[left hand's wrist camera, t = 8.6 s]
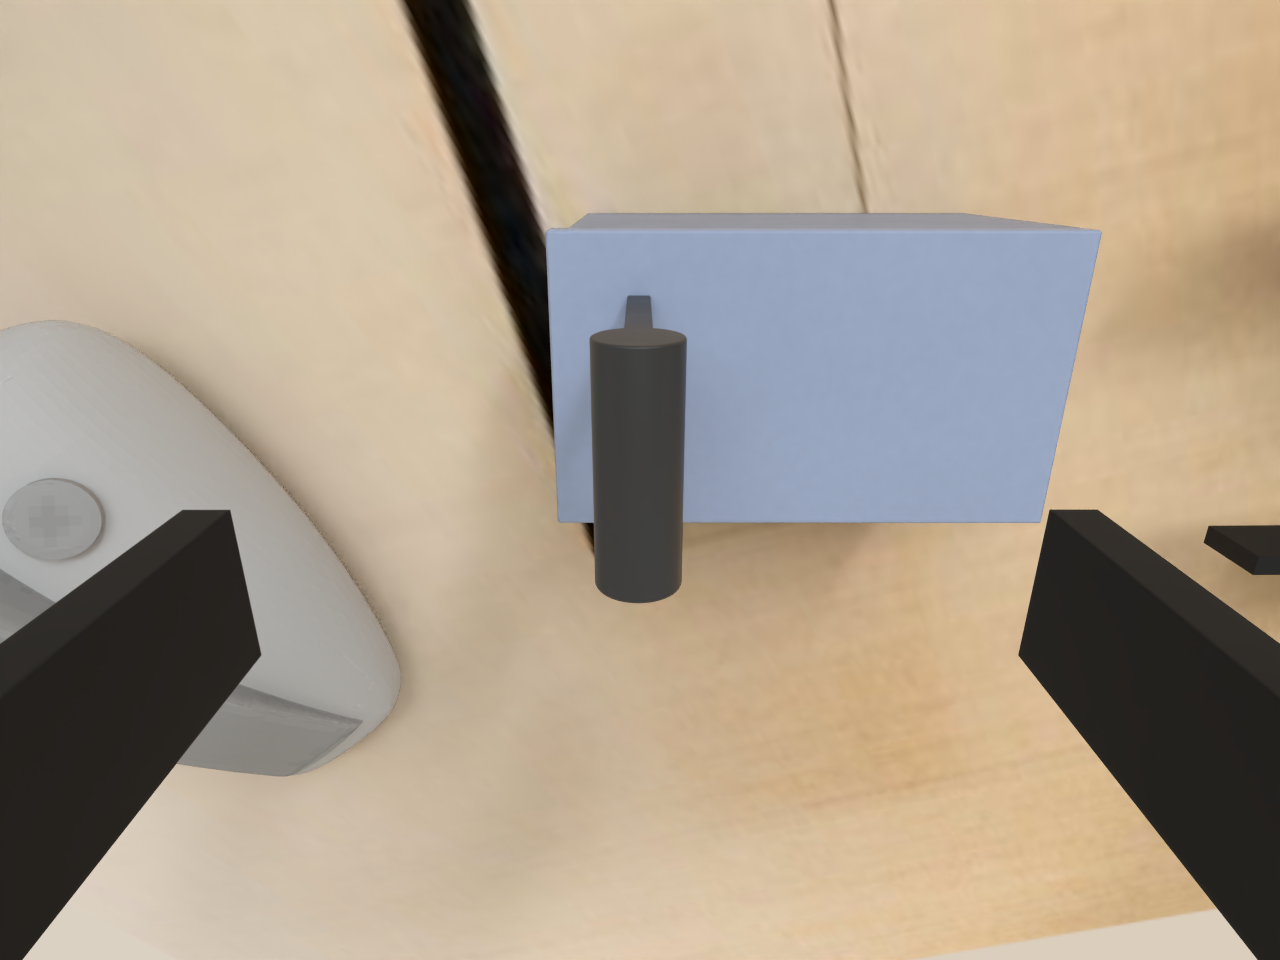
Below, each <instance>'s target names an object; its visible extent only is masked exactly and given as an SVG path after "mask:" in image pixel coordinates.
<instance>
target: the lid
mask: <svg viewBox="0 0 1280 960" xmlns="http://www.w3.org/2000/svg"><path fill="white" fill-rule="evenodd" d="M1100 238H1101V231H1099V230H1093V229H1085V228H551V229H549V230H547V231H546V254H547V277H548V301H549V324H550V347H551V370H552V393H553V417H554V440H555V463H556V486H557V509H558V521H559V522H562V523H594V548H595V583H596V586H597V588H598V589H599V590H600V592H602V593H603V594H604V595H606V596H607V597H610V598H612V599H615V600H618V601H622V602H629V603H648V602H654V601H659V600H662V599H665V598H667V597H669V596H671V595H673V594H674V593H675V592H676V591H677V590H678V589H679V587H680V585H681V580H682V537H683V523H1039V522H1040V521H1041V517H1042V512H1043V507H1044V503H1045V498H1046V493H1047V489H1048V484H1049V479H1050V474H1051V470H1052V465H1053V460H1054V456H1055V451H1056V446H1057V441H1058V437H1059V432H1060V427H1061V423H1062V418H1063V413H1064V408H1065V404H1066V399H1067V394H1068V389H1069V385H1070V380H1071V375H1072V371H1073V366H1074V361H1075V356H1076V352H1077V347H1078V342H1079V338H1080V333H1081V328H1082V323H1083V319H1084V314H1085V309H1086V305H1087V300H1088V295H1089V290H1090V286H1091V281H1092V276H1093V272H1094V267H1095V262H1096V257H1097V253H1098V248H1099V243H1100Z"/></svg>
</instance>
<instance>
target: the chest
mask: <svg viewBox="0 0 1280 960" xmlns="http://www.w3.org/2000/svg"><path fill="white" fill-rule="evenodd" d="M570 228H1078V227H1069V226H1061V225H1053V224H1045V223H1037V222H1029V221H1021V220H1013V219H1005V218H997V217H989V216H980V215H972V214H965V213H588V214H587V215H586V216H584V217H583V218H582V219H580V220H579V221H578V222H576V223H575V224H574V225H572V226H571V227H570Z"/></svg>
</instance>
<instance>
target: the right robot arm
mask: <svg viewBox="0 0 1280 960" xmlns="http://www.w3.org/2000/svg"><path fill="white" fill-rule="evenodd" d="M1204 543H1205V544H1207V545H1208V546H1210V547H1211V548H1213V549H1214V550H1216V551H1217V552H1219V553H1220V554H1222V555H1223V556H1225V557H1226V558H1228V559H1230V560H1231V561H1233V562H1234V563H1236V564H1237V565H1239V566H1240V567H1242V568H1243V569H1245V570H1246V571H1248V572H1249V573H1251V574H1252V575H1280V525H1274V526H1209V527H1208V530H1207V533H1206V537H1205V540H1204Z"/></svg>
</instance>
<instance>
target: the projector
mask: <svg viewBox="0 0 1280 960" xmlns="http://www.w3.org/2000/svg"><path fill="white" fill-rule="evenodd" d="M181 510H230V511H231V515H232V520H233V525H234V529H235V534H236V539H237V543H238V548H239V553H240V557H241V562H242V566H243V571H244V576H245V580H246V585H247V590H248V594H249V599H250V604H251V608H252V613H253V618H254V622H255V627H256V632H257V636H258V641H259V645H260V650H261V657H260V658H259V659H258V660H257V662H256V663H255V664H254V666H253V667H252V668H251V669H250V671H249V672H248V673H247V674H246V676H245V677H244V678H243V680H242V681H241V682H240V683H239V685H238V686H237V687H236V688H235V690H234V691H233V692H232V694H231V695H230V696H229V697H228V699H227V700H226V701H225V702H224V704H223V705H222V706H221V708H220V709H219V710H218V711H217V713H216V714H215V715H214V716H213V718H212V719H211V720H210V722H209V723H208V724H207V725H206V727H205V728H204V729H203V730H202V732H201V733H200V734H199V736H198V737H197V738H196V739H195V741H194V742H193V743H192V744H191V746H190V747H189V748H188V750H187V751H186V752H185V753H184V755H183V756H182V757H181V758H180V760H179V761H178V762H177V764H182V765H188V766H195V767H202V768H209V769H217V770H225V771H232V772H241V773H250V774H259V775H270V776H290V775H298V774H302V773H306V772H309V771H311V770H314V769H317V768H319V767H321V766H322V765H324V764H326V763H328V762H330V761H331V760H333V759H335V758H336V757H338V756H339V755H341V754H342V753H344V752H345V751H346V750H348V749H349V748H351V747H352V746H353V745H355V744H356V743H358V742H359V741H360V740H362V739H363V738H364V737H366V736H367V735H368V734H369V733H371V732H372V731H373V730H374V729H375V728H376V727H377V726H378V725H379V724H380V723H381V722H383V721H384V720H385V718H386V717H387V716H388V715H389V713H390V712H391V710H392V709H393V707H394V705H395V703H396V701H397V698H398V695H399V691H400V686H401V671H400V667H399V664H398V661H397V658H396V656H395V654H394V651H393V649H392V647H391V644H390V642H389V641H388V639H387V637H386V635H385V633H384V631H383V629H382V627H381V625H380V624H379V622H378V620H377V618H376V617H375V615H374V613H373V612H372V610H371V608H370V607H369V605H368V603H367V602H366V600H365V598H364V596H363V595H362V593H361V592H360V590H359V589H358V587H357V586H356V584H355V583H354V581H353V579H352V578H351V576H350V575H349V573H348V572H347V570H346V569H345V567H344V566H343V564H342V563H341V561H340V560H339V559H338V557H337V556H336V554H335V553H334V552H333V550H332V549H331V548H330V546H329V545H328V543H327V542H326V541H325V539H324V538H323V537H322V535H321V534H320V533H319V531H318V530H317V529H316V528H315V526H314V525H313V524H312V522H311V521H310V520H309V519H308V517H307V516H306V515H305V514H304V512H303V511H302V510H301V509H300V508H299V506H298V505H297V504H296V503H295V502H294V500H293V499H292V498H291V497H290V496H289V495H288V493H287V492H286V491H285V490H284V489H283V487H282V486H281V485H280V484H279V483H278V482H277V481H276V480H275V478H274V477H273V476H272V475H271V474H270V473H269V472H268V471H267V470H266V468H265V467H264V466H263V465H262V464H261V463H260V462H259V461H258V460H257V459H256V457H255V456H254V455H253V454H252V453H251V452H250V451H249V450H248V449H247V448H246V447H245V446H244V445H243V444H242V443H241V442H240V441H239V440H238V439H237V438H236V437H235V436H234V435H233V434H232V432H231V431H230V430H229V429H228V428H227V427H226V426H225V425H224V424H223V423H222V422H221V421H219V420H218V419H217V418H216V417H215V416H214V415H213V414H212V413H211V412H210V411H209V410H208V409H207V408H206V407H205V406H204V405H203V404H202V403H201V402H200V401H199V400H198V399H197V398H196V397H194V396H193V395H192V394H191V393H190V392H189V391H188V390H187V389H186V388H184V387H183V386H182V385H181V384H180V383H179V382H178V381H177V380H176V379H174V378H173V377H172V376H171V375H170V374H168V373H167V372H166V371H165V370H163V369H162V368H161V367H160V366H158V365H157V364H156V363H155V362H154V361H152V360H151V359H150V358H148V357H147V356H145V355H144V354H142V353H141V352H139V351H138V350H137V349H135V348H134V347H132V346H131V345H129V344H127V343H126V342H124V341H122V340H120V339H118V338H117V337H115V336H113V335H111V334H109V333H106V332H104V331H101V330H99V329H96V328H94V327H91V326H87V325H83V324H80V323H74V322H67V321H39V322H31V323H26V324H22V325H17V326H14V327H10V328H7V329H4V330H1V331H0V644H1V643H2V642H3V641H5V640H6V639H7V638H9V637H10V636H11V635H13V634H14V633H15V632H17V631H18V630H20V629H21V628H22V627H24V626H25V625H26V624H28V623H29V622H30V621H32V620H33V619H35V618H36V617H37V616H39V615H40V614H41V613H43V612H44V611H45V610H47V609H48V608H49V607H51V606H52V605H54V604H55V603H56V602H58V601H59V600H60V599H62V598H63V597H64V596H66V595H67V594H69V593H70V592H71V591H73V590H74V589H75V588H77V587H78V586H79V585H81V584H82V583H84V582H85V581H86V580H88V579H89V578H90V577H92V576H93V575H94V574H96V573H97V572H98V571H100V570H101V569H103V568H104V567H105V566H107V565H108V564H109V563H111V562H112V561H113V560H115V559H116V558H118V557H119V556H120V555H122V554H123V553H124V552H126V551H127V550H128V549H130V548H131V547H133V546H134V545H135V544H137V543H138V542H139V541H141V540H142V539H143V538H145V537H146V536H147V535H149V534H150V533H152V532H153V531H154V530H156V529H157V528H158V527H160V526H161V525H162V524H164V523H165V522H167V521H168V520H169V519H171V518H172V517H173V516H175V515H176V514H177V513H179V512H180V511H181Z"/></svg>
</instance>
